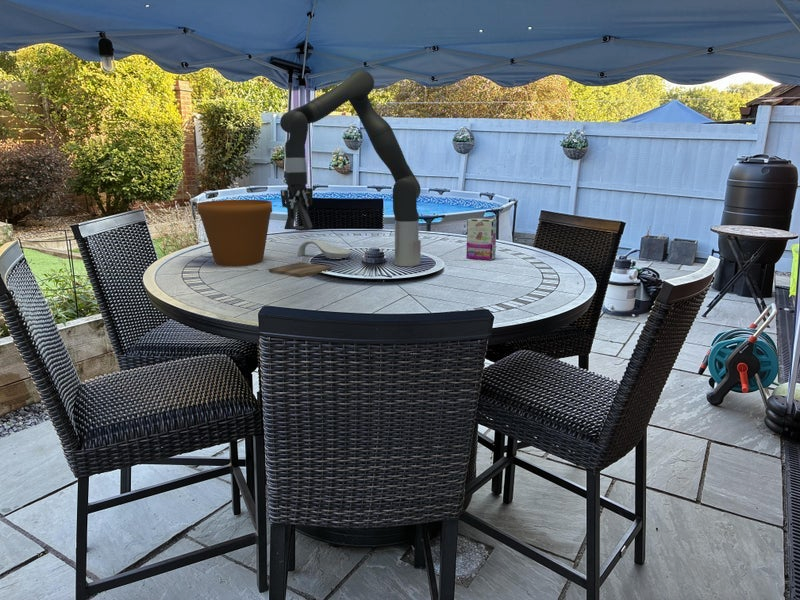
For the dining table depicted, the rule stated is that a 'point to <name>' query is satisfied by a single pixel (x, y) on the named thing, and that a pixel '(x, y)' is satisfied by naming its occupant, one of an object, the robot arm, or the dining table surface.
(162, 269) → the dining table surface
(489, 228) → the candy bar box
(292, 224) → the phone stand
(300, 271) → the walnut board
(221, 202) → the flowerpot
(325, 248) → the spoon rest
